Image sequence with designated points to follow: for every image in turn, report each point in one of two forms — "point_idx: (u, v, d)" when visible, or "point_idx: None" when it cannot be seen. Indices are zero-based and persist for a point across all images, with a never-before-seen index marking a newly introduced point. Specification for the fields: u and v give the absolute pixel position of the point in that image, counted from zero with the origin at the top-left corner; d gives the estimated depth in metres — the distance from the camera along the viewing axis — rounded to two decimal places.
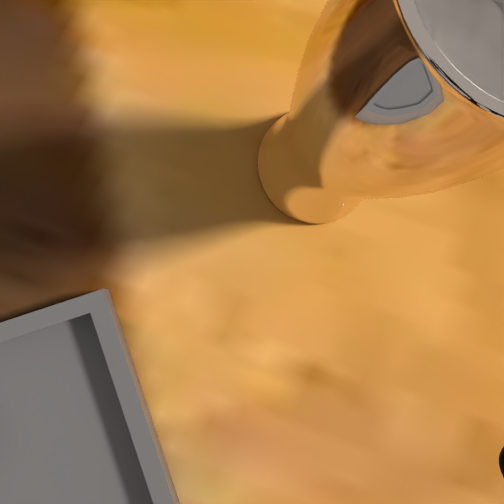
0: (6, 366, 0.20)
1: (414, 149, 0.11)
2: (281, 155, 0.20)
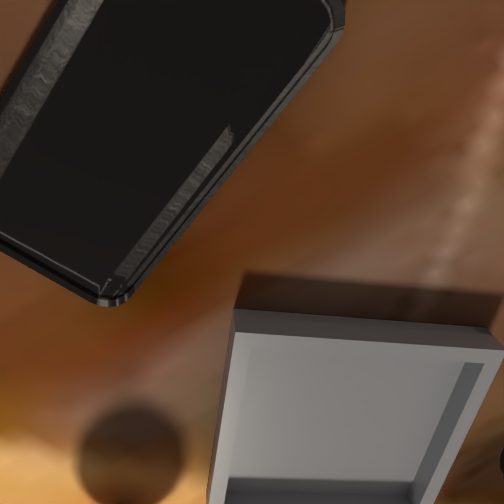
0: (410, 444, 0.25)
1: None
2: None
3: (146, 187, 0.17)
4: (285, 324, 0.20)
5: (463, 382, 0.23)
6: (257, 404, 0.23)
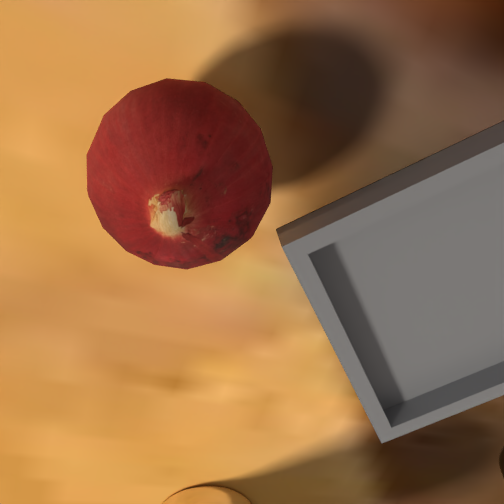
0: (454, 364, 0.23)
1: None
2: None
3: None
4: None
5: None
6: (456, 194, 0.19)
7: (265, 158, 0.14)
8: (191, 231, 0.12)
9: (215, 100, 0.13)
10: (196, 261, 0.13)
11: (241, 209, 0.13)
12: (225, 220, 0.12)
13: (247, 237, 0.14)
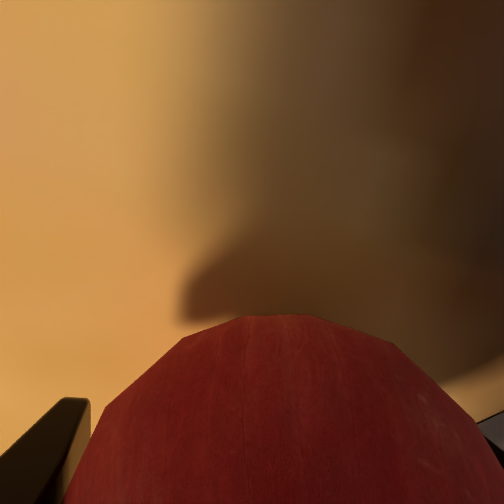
0: None
1: None
2: None
3: None
4: None
5: None
6: None
7: None
8: None
9: (408, 467, 0.04)
10: None
11: None
12: None
13: None
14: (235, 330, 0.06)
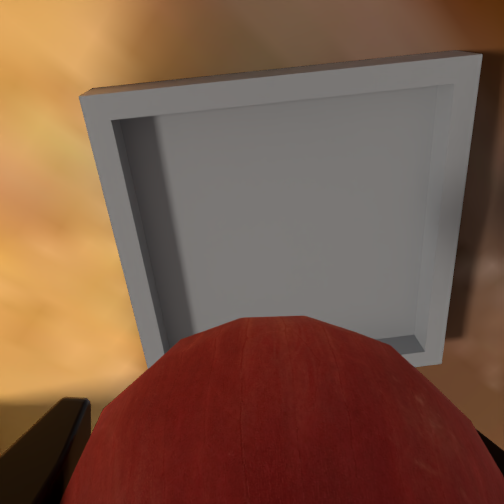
0: None
1: None
2: None
3: None
4: None
5: None
6: (312, 123, 0.16)
7: None
8: None
9: (403, 469, 0.04)
10: None
11: None
12: None
13: None
14: (233, 332, 0.06)
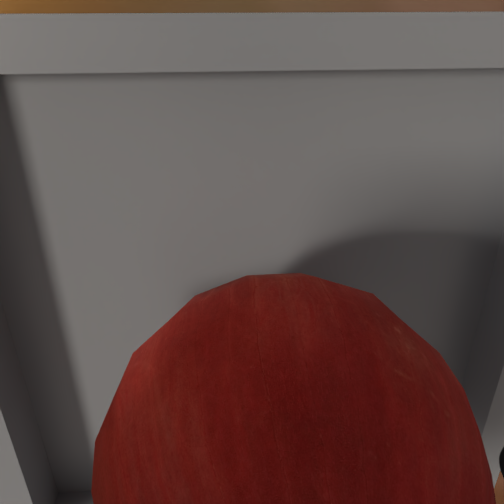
0: None
1: None
2: None
3: None
4: None
5: None
6: (311, 122, 0.09)
7: (484, 452, 0.06)
8: None
9: (387, 375, 0.05)
10: None
11: None
12: None
13: None
14: (243, 283, 0.07)
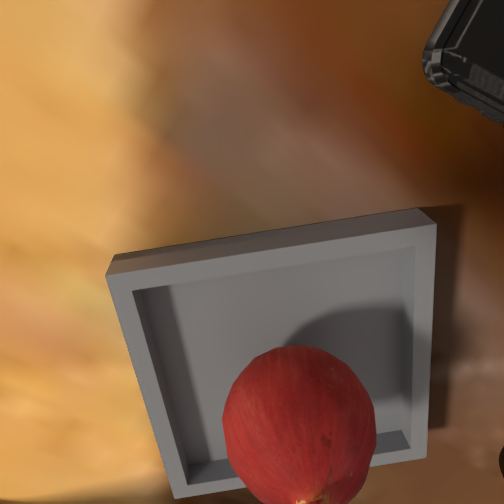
0: None
1: None
2: None
3: None
4: None
5: None
6: (299, 272, 0.19)
7: (370, 413, 0.16)
8: None
9: (323, 387, 0.16)
10: None
11: (363, 475, 0.15)
12: (354, 490, 0.15)
13: None
14: (273, 353, 0.17)
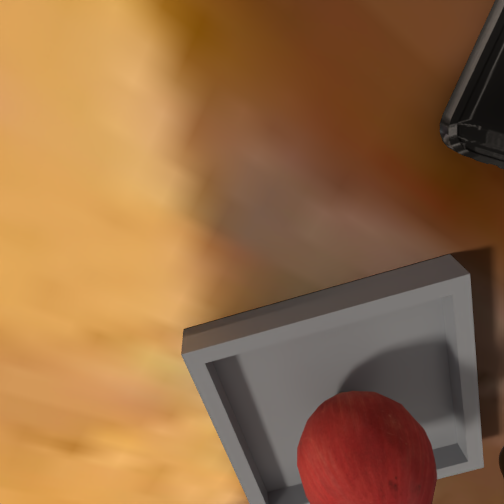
0: None
1: None
2: None
3: None
4: None
5: None
6: (348, 324, 0.21)
7: (428, 451, 0.18)
8: None
9: (384, 435, 0.18)
10: None
11: None
12: None
13: None
14: (335, 405, 0.19)
